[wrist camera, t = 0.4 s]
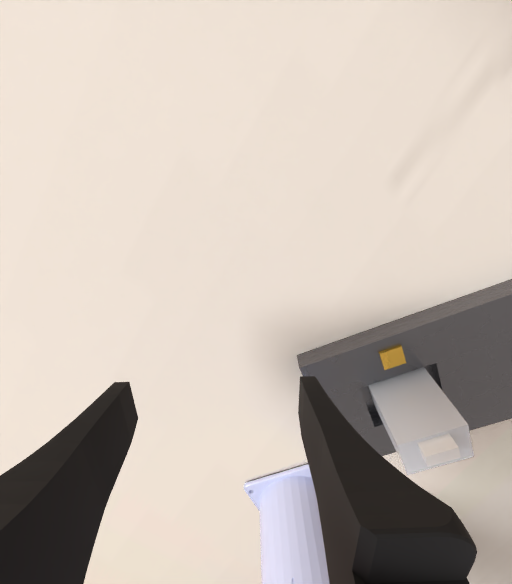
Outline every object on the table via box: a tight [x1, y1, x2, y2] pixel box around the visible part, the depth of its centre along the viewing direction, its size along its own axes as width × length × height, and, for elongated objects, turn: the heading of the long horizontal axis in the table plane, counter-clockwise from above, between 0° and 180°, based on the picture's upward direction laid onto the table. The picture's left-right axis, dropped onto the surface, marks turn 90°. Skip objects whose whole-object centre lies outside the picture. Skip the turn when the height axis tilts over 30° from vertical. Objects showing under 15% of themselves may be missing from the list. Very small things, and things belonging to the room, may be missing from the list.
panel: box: [297, 279, 512, 456], centre depth 25 cm, size 12×24×2 cm, turn 113°
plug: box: [368, 367, 474, 475], centre depth 23 cm, size 3×4×7 cm
